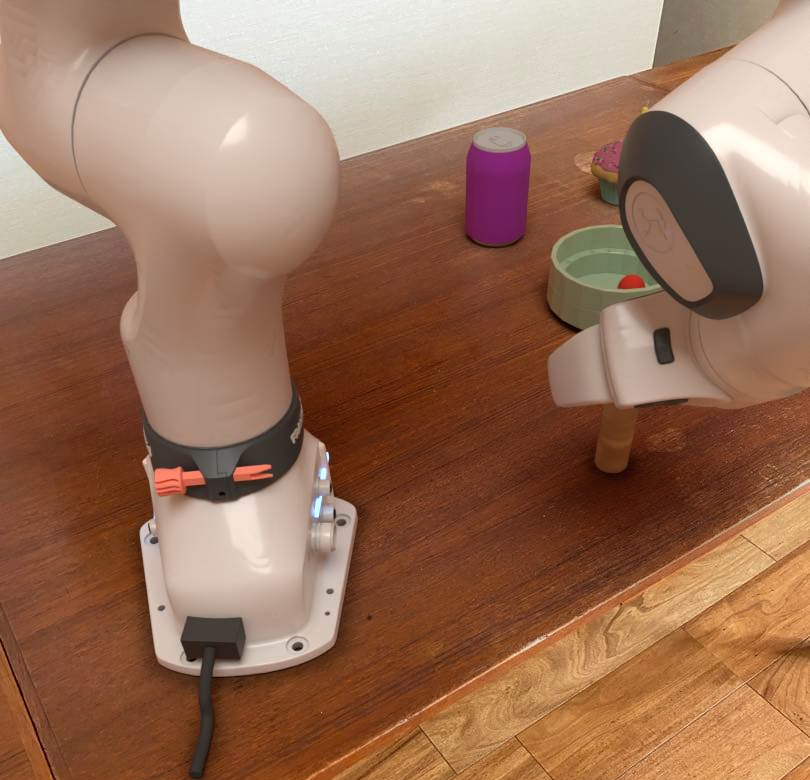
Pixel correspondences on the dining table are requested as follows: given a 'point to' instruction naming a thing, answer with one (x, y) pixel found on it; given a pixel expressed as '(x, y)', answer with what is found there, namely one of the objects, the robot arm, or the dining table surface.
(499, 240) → the beverage can
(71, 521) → the dining table surface
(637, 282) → the berry
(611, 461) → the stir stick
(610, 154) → the cupcake
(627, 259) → the bowl
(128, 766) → the dining table surface
